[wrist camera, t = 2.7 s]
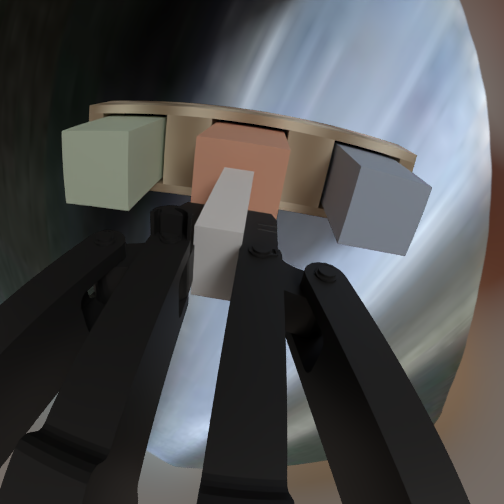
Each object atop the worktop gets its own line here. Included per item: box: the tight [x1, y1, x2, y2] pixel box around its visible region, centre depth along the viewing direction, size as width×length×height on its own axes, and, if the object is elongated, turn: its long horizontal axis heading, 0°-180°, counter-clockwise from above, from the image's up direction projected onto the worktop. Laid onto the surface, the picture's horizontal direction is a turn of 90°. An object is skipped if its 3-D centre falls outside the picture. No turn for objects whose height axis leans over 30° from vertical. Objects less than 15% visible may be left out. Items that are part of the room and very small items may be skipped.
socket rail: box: [89, 101, 417, 218], centre depth 23 cm, size 26×7×4 cm, turn 81°
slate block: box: [320, 142, 432, 256], centre depth 19 cm, size 5×5×7 cm
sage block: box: [62, 115, 167, 211], centre depth 19 cm, size 5×5×7 cm
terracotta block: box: [191, 121, 291, 219], centre depth 19 cm, size 5×5×7 cm
